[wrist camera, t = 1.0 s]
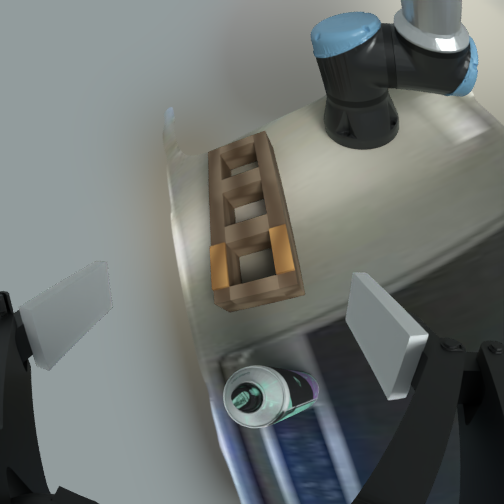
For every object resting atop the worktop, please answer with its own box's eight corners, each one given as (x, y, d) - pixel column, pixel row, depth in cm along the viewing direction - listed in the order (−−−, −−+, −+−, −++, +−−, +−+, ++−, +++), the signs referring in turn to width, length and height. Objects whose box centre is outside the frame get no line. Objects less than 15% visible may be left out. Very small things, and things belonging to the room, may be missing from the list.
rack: (273, 148, 56) (264, 128, 52) (305, 294, 41) (296, 282, 37) (219, 167, 59) (207, 150, 55) (229, 312, 45) (212, 302, 40)
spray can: (324, 378, 35) (288, 377, 19) (310, 415, 34) (260, 445, 17) (287, 366, 38) (222, 352, 21) (274, 402, 36) (197, 414, 19)
